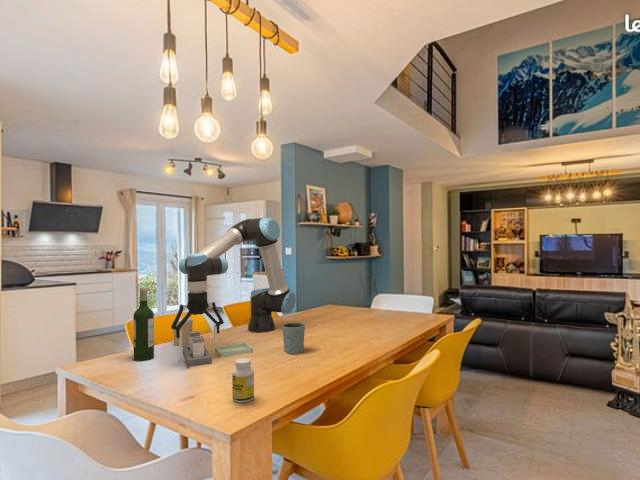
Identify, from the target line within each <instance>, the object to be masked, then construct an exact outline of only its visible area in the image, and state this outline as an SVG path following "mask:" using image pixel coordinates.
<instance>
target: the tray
mask: <svg viewBox="0 0 640 480" xmlns="http://www.w3.org/2000/svg"><path fill="white" fill-rule="evenodd" d="M214 350H215V352H216V354H217V355H218V356H219V357H220V358H223V357H230V356H231V357H232V356H235V355H244V354H252V353H253V348H252V346H250V344H248V343H247V342H246V341H245V342H239V343H237V342H236V343H230V344H223V345H215V346H214Z"/></svg>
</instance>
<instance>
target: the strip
mask: <svg viewBox="0 0 640 480" xmlns="http://www.w3.org/2000/svg"><path fill="white" fill-rule="evenodd" d="M182 355H183V359H184V361H185V364H186V368H187V369H190V368H192V367H198V366H199V367H200V366H205V365H206V366H207V365H212V363H213V362H212V361H213V357H212V355H211V354H210V352H209V351H208V349H207V347H206V346H205V344H204V356H202V357H195V358H193V356H192V350H189V345H186V346H182Z"/></svg>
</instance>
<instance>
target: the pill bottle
mask: <svg viewBox="0 0 640 480" xmlns="http://www.w3.org/2000/svg"><path fill="white" fill-rule="evenodd" d="M234 364H235V368H234V369H233V370H232V373H231V377H232V380H231V381H232V395H231V396H232V400H233V401H234V402H235V403H248V402H250V401H252V400H253V399H254V398H255V371H254V368H252V361H251V359H250V358H245V357H244V358H239V359H236V360H235V362H234Z"/></svg>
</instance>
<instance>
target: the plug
mask: <svg viewBox="0 0 640 480" xmlns="http://www.w3.org/2000/svg"><path fill="white" fill-rule="evenodd" d="M204 345H205V338H204V336H203V335H202V336H201V335H200V337H192V356H193V358H195V357H202V356H204Z"/></svg>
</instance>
